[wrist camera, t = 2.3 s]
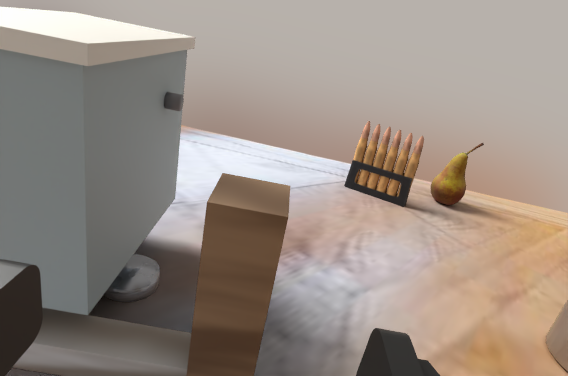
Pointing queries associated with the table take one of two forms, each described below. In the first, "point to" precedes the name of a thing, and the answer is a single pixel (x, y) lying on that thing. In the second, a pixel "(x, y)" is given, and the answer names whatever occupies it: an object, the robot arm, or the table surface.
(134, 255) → the steel puck
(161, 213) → the cabinet
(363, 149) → the ammunition clip
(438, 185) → the fruit
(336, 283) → the table surface
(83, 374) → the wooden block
